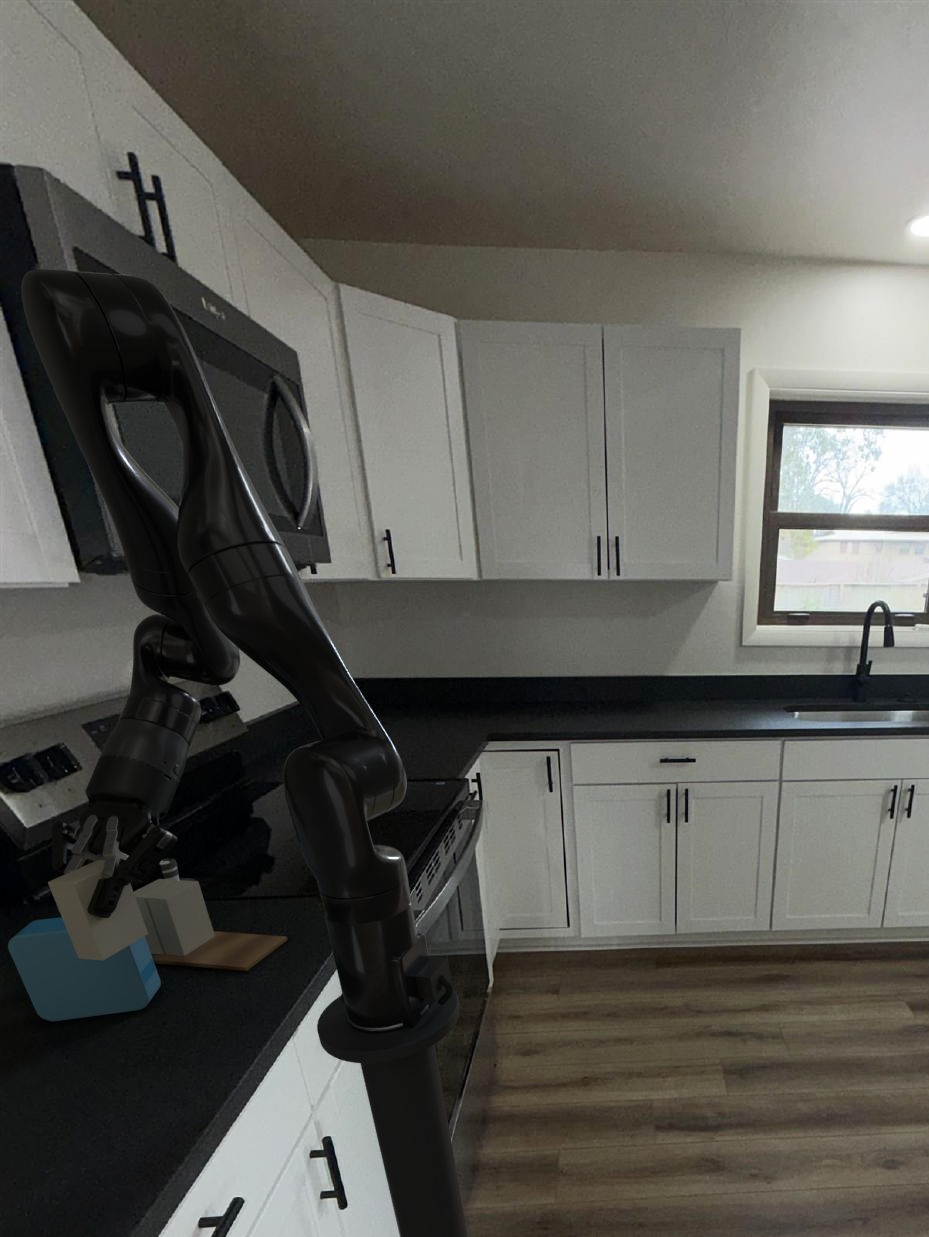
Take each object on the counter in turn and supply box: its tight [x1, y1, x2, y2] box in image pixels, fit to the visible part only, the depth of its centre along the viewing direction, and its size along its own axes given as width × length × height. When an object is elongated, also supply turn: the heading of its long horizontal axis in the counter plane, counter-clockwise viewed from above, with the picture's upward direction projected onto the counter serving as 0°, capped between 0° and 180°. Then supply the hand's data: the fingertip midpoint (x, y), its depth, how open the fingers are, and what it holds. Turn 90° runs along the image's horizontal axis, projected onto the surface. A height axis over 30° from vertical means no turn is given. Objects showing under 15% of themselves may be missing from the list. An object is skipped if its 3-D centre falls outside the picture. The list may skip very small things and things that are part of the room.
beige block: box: [47, 860, 148, 961], centre depth 76 cm, size 3×6×9 cm, turn 171°
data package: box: [7, 916, 162, 1022], centre depth 88 cm, size 12×4×12 cm, turn 105°
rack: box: [130, 863, 289, 972], centre depth 101 cm, size 18×9×12 cm, turn 81°
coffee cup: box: [160, 858, 198, 881], centre depth 123 cm, size 12×12×5 cm
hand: (82, 914), depth 74 cm, fingers closed on beige block, 3 cm apart
